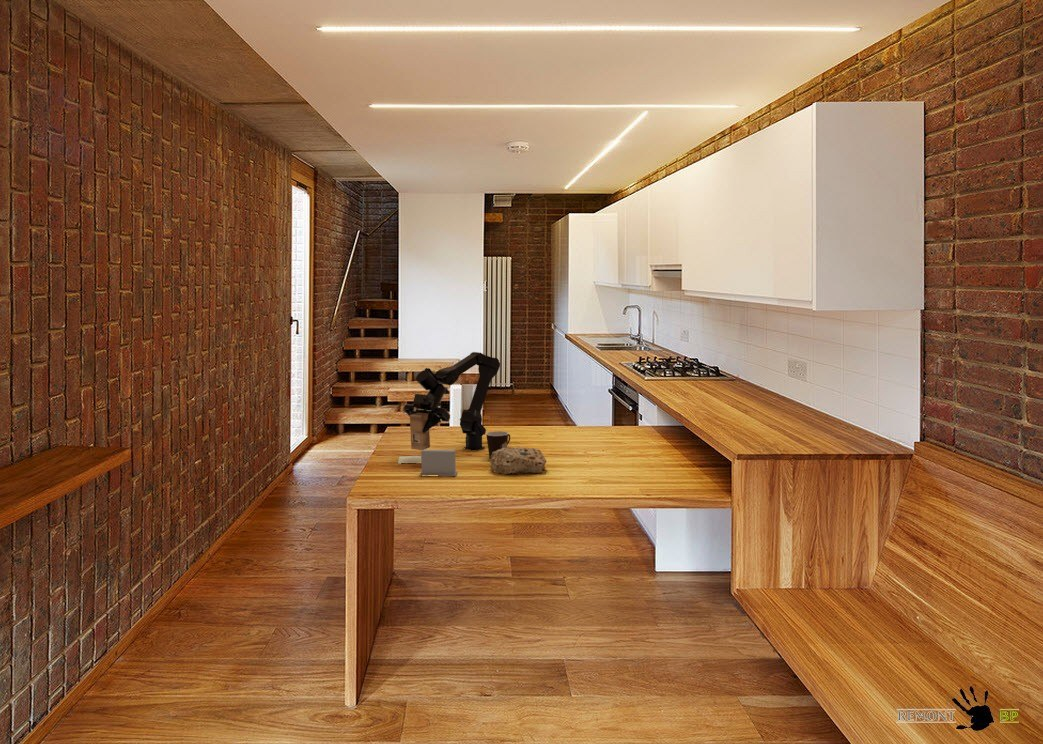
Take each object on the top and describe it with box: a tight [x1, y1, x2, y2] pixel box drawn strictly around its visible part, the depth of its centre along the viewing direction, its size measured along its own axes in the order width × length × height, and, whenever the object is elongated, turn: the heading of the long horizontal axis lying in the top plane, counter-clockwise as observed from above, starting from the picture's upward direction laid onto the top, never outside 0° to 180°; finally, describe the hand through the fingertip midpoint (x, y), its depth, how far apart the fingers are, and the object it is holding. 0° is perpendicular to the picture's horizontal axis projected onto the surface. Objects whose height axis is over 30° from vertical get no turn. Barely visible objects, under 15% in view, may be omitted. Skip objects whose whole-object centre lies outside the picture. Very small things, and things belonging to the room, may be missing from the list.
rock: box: [490, 446, 547, 475], centre depth 276 cm, size 21×14×10 cm
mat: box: [397, 455, 421, 465], centre depth 292 cm, size 10×10×1 cm
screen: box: [419, 449, 458, 477], centre depth 271 cm, size 13×4×9 cm, turn 86°
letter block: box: [409, 413, 431, 451], centre depth 284 cm, size 5×5×13 cm
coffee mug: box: [485, 430, 511, 460], centre depth 294 cm, size 12×9×10 cm
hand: (417, 431), depth 283 cm, fingers closed on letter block, 5 cm apart
